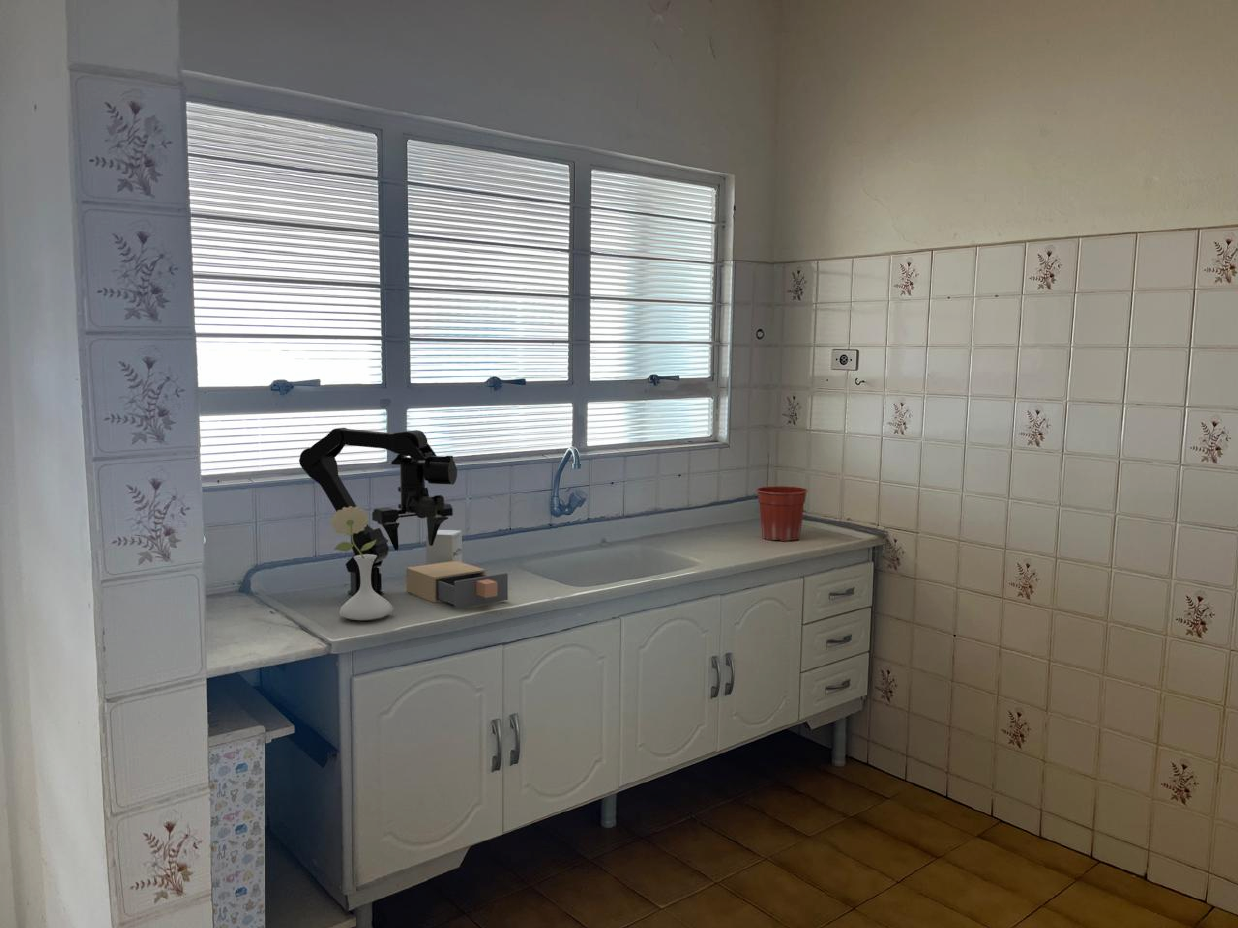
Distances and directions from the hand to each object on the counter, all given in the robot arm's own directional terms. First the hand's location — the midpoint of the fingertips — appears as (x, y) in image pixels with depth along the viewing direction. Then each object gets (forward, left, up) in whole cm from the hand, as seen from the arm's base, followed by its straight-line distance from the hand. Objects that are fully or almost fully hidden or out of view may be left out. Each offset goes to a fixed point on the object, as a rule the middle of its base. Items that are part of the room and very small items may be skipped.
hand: (413, 547), depth 231 cm
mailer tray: (+8, -12, -12) cm, 19 cm away
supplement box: (+15, +12, -12) cm, 23 cm away
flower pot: (+130, -3, -12) cm, 131 cm away
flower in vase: (-18, -10, -12) cm, 24 cm away
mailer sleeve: (+8, -1, -12) cm, 14 cm away
